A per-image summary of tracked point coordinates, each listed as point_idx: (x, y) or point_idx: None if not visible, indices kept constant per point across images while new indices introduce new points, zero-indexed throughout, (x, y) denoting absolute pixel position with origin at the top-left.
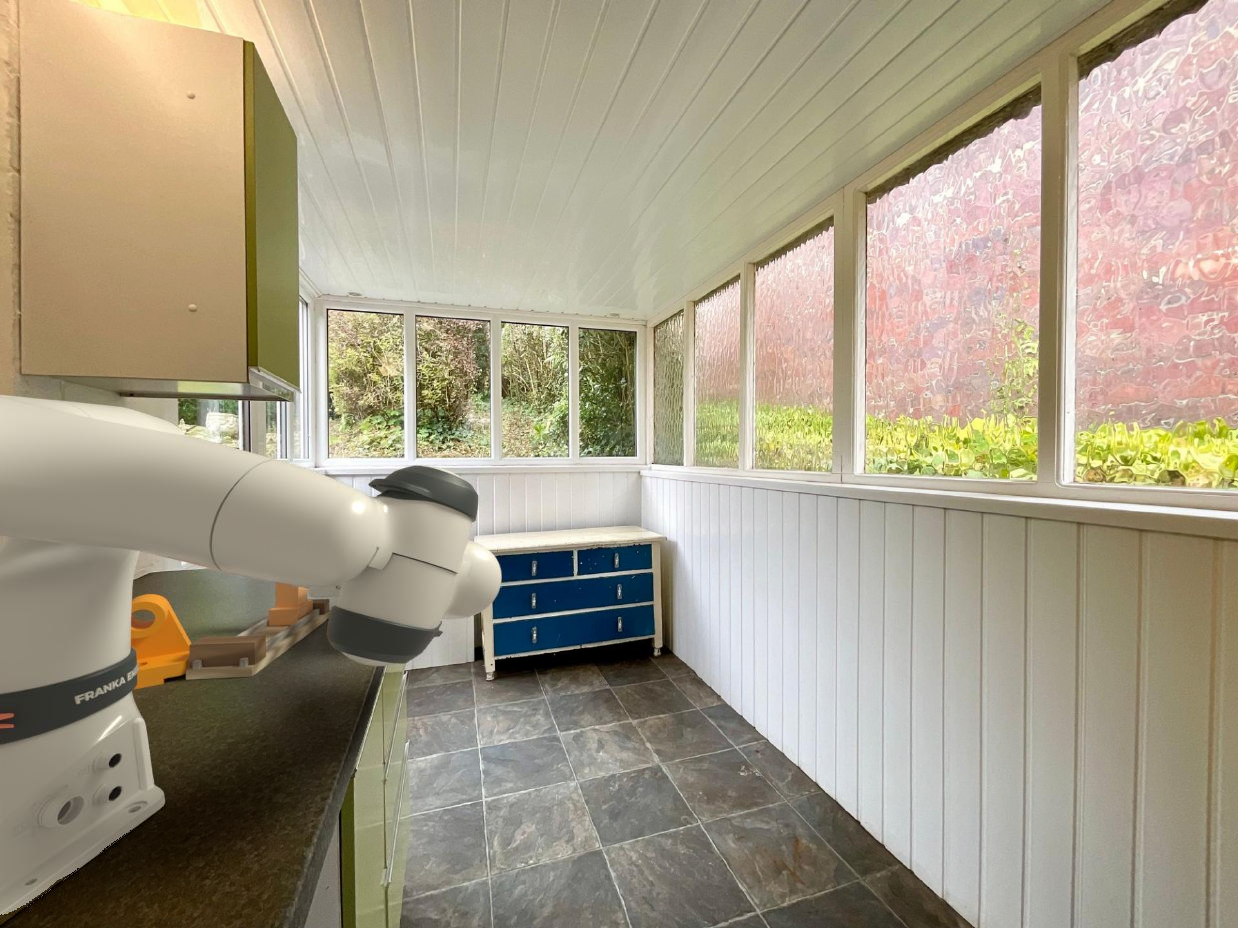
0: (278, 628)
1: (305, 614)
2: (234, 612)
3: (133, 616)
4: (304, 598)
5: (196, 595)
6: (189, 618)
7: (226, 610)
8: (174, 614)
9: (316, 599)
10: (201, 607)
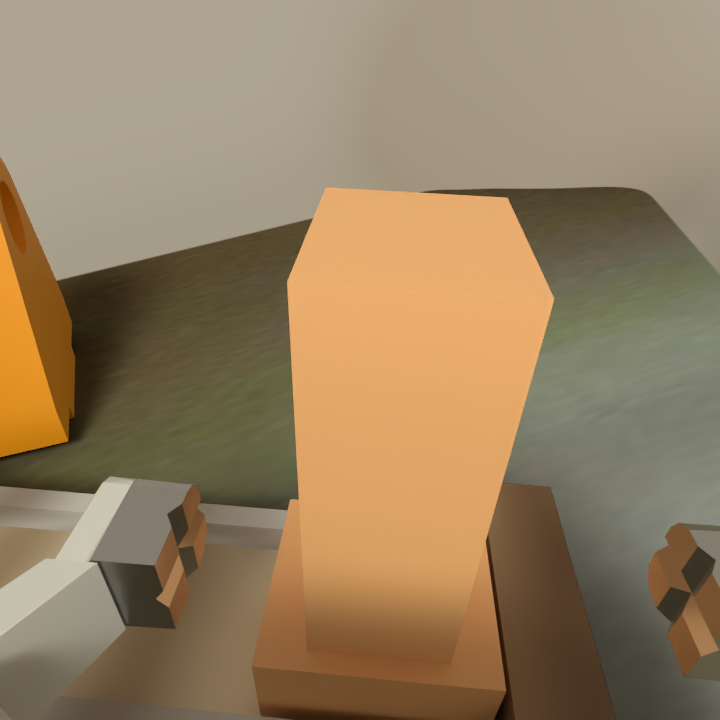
0: (248, 618)
1: (372, 714)
2: (589, 378)
3: (14, 217)
4: (410, 639)
5: (709, 269)
6: None
7: (604, 355)
8: (1, 270)
9: (601, 695)
10: (615, 305)
